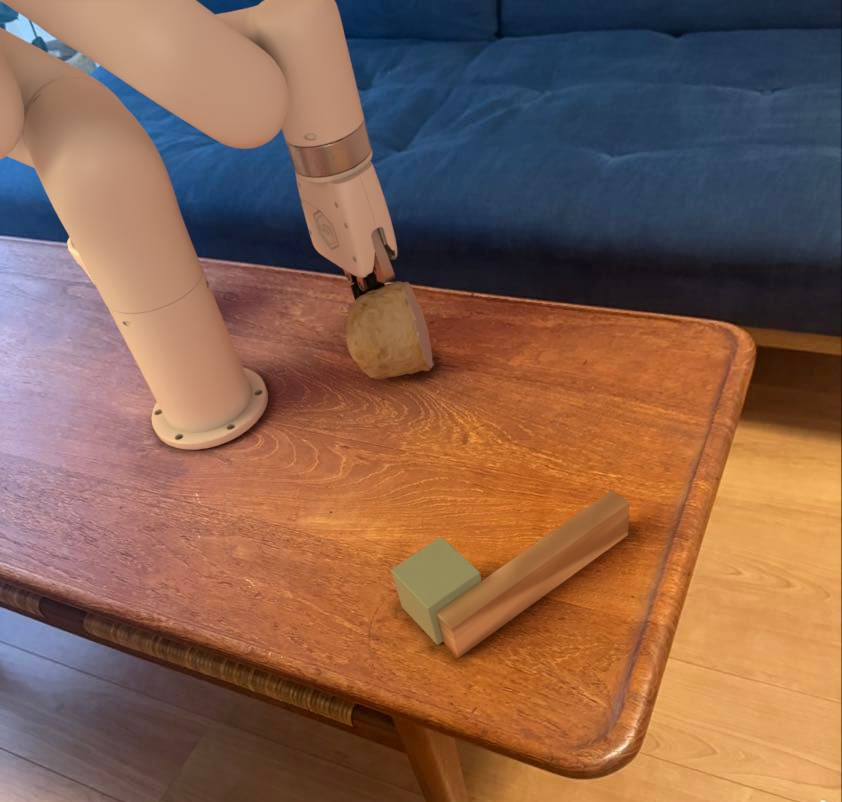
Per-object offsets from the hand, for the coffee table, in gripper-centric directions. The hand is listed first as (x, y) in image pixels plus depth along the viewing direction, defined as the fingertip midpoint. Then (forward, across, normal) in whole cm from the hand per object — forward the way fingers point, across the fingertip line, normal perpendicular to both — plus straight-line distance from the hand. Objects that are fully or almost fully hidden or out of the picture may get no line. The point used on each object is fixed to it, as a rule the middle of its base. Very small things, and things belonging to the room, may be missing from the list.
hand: (375, 312), depth 90 cm
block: (+3, +35, -18) cm, 39 cm away
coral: (+3, +6, -2) cm, 7 cm away
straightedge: (+3, +38, -11) cm, 40 cm away
